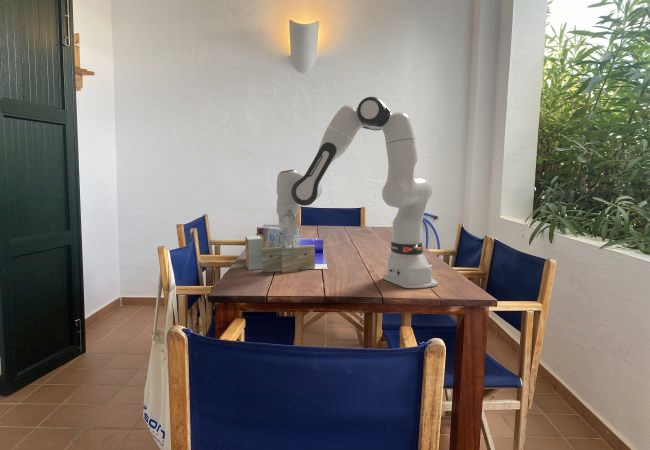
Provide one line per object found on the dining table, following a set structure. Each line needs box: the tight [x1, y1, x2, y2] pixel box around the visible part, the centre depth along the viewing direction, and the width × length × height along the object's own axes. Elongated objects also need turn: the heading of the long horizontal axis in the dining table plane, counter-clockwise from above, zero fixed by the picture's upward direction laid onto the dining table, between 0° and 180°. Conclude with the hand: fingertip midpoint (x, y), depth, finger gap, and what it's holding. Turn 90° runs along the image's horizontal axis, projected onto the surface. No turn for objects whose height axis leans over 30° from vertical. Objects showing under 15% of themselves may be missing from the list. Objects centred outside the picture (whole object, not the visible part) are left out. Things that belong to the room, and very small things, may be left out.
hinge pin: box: [285, 239, 292, 248], centre depth 199 cm, size 3×3×13 cm
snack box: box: [256, 225, 301, 248], centre depth 217 cm, size 21×6×15 cm, turn 56°
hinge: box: [260, 244, 316, 274], centre depth 199 cm, size 6×22×10 cm, turn 106°
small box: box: [244, 235, 263, 271], centre depth 204 cm, size 8×6×13 cm
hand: (288, 242), depth 198 cm, fingers open, 8 cm apart
